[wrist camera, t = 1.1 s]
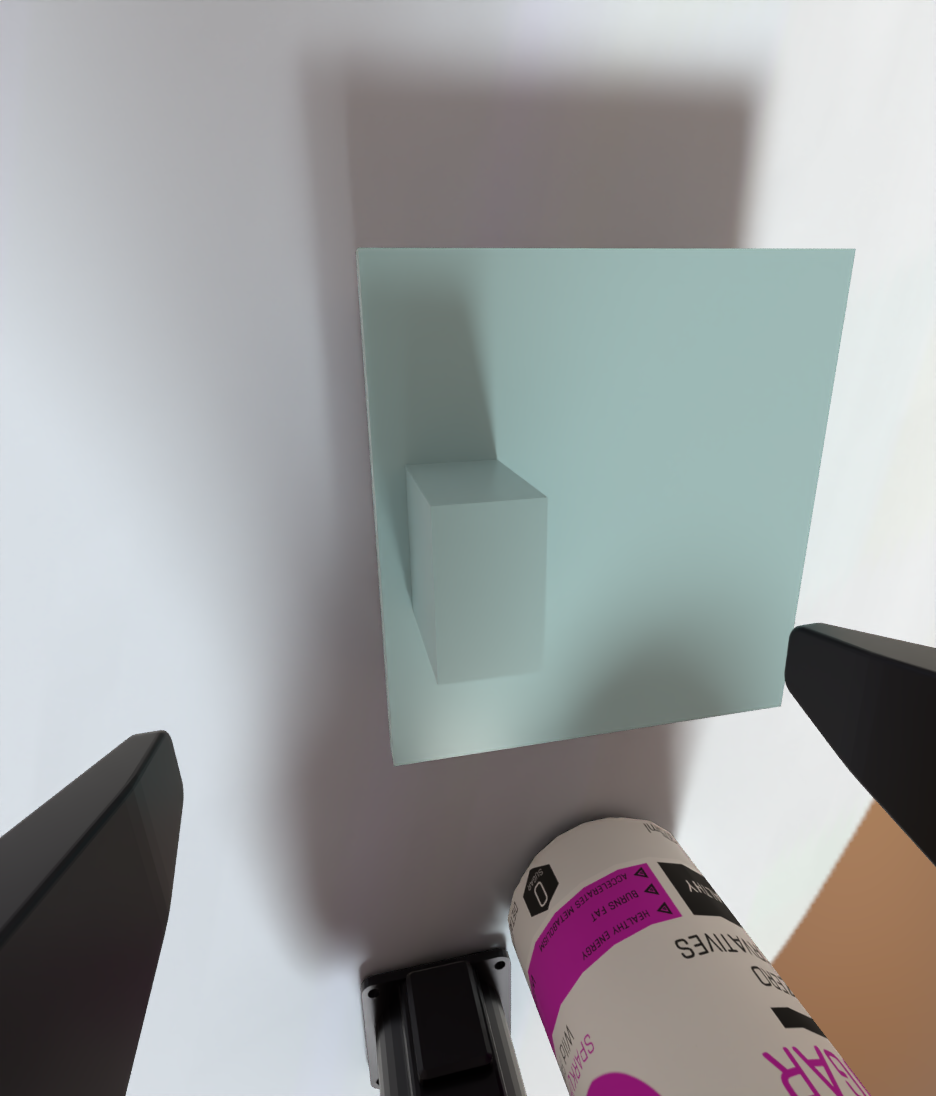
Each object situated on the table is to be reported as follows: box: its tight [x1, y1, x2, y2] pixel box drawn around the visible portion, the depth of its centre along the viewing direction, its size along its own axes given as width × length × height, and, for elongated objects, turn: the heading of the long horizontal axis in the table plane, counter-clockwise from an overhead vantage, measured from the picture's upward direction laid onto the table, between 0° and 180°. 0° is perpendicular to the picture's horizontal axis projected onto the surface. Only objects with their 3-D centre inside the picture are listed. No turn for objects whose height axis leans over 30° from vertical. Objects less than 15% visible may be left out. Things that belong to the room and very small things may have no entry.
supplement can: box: [508, 817, 871, 1096], centre depth 22 cm, size 8×8×15 cm
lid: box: [356, 248, 856, 766], centre depth 17 cm, size 14×13×6 cm
